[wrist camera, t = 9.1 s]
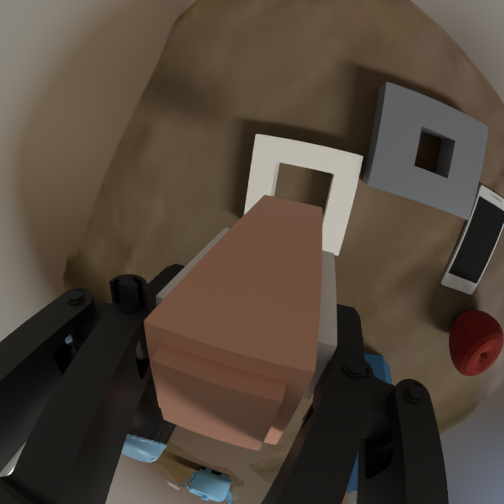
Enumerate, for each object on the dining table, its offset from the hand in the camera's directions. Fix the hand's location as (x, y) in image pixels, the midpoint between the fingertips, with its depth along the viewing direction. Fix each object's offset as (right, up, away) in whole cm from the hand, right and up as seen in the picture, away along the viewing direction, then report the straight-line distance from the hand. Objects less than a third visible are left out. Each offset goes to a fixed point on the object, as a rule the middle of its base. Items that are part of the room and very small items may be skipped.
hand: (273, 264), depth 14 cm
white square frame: (+5, +8, +19) cm, 21 cm away
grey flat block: (+20, +13, +13) cm, 27 cm away
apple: (+34, -11, +19) cm, 41 cm away
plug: (+1, +2, +5) cm, 6 cm away
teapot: (-15, -90, +67) cm, 113 cm away
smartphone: (+31, +2, +15) cm, 35 cm away
